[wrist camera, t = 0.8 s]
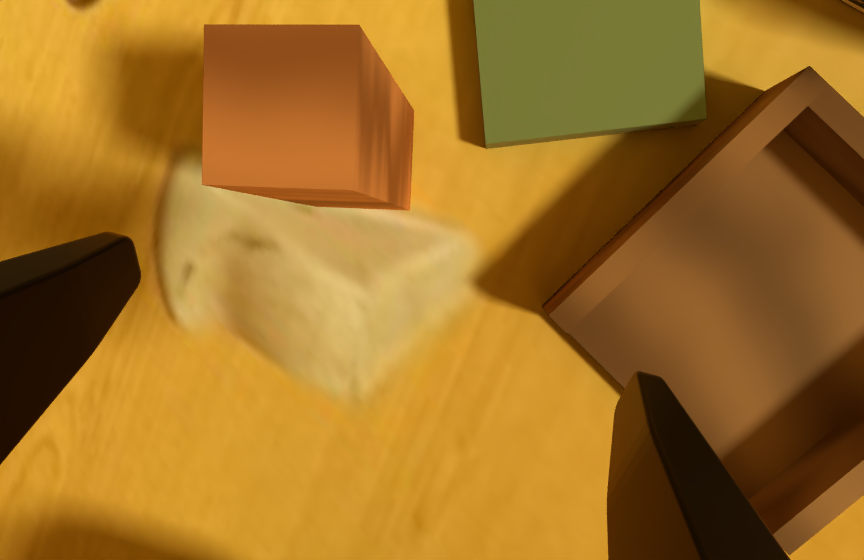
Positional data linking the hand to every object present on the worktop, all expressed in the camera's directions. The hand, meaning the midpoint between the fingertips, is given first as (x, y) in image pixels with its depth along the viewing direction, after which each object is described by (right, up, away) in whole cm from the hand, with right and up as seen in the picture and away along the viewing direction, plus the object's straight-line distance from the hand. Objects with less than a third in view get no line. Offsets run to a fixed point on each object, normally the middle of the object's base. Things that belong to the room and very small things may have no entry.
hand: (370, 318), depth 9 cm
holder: (+15, -1, +14) cm, 21 cm away
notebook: (+7, +13, +14) cm, 21 cm away
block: (-2, +6, +16) cm, 17 cm away
